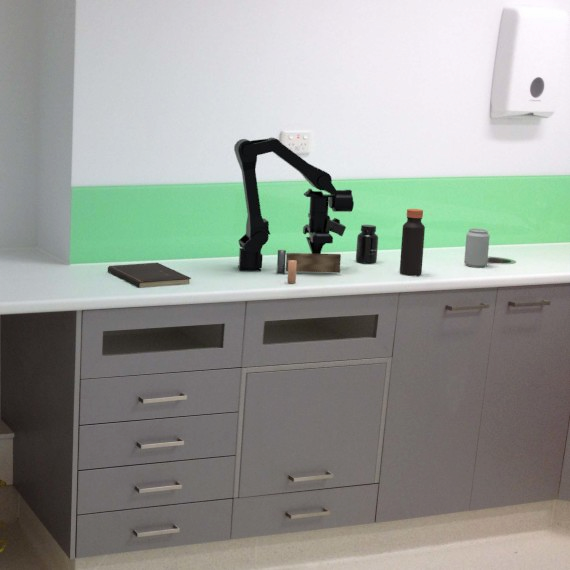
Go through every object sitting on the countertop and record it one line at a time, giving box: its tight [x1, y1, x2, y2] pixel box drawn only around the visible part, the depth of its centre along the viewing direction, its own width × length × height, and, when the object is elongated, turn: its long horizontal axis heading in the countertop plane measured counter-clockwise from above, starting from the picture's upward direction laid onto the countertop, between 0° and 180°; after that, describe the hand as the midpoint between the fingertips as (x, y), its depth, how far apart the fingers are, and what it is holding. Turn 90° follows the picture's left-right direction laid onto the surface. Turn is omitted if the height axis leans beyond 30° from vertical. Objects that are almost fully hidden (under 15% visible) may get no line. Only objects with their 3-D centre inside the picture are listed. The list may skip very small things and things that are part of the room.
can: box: [463, 228, 491, 268], centre depth 349 cm, size 8×8×12 cm
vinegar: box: [399, 208, 426, 277], centre depth 330 cm, size 7×7×20 cm
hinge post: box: [276, 249, 287, 275], centre depth 323 cm, size 2×2×7 cm
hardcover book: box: [107, 262, 192, 289], centre depth 309 cm, size 16×23×2 cm
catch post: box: [287, 260, 297, 285], centre depth 310 cm, size 2×2×6 cm
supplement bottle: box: [355, 224, 379, 265], centre depth 347 cm, size 7×7×12 cm
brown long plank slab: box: [285, 252, 342, 274], centre depth 325 cm, size 16×2×6 cm, turn 99°
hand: (316, 261), depth 332 cm, fingers closed
